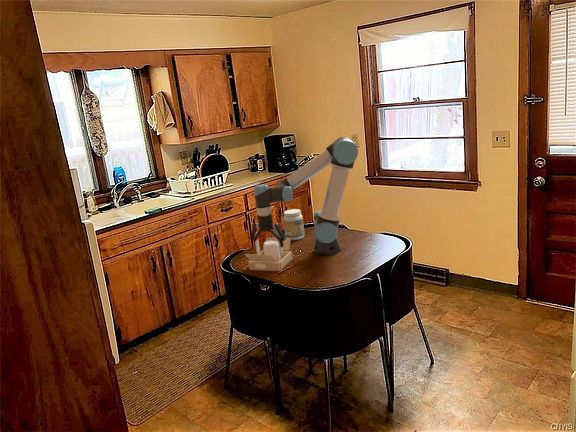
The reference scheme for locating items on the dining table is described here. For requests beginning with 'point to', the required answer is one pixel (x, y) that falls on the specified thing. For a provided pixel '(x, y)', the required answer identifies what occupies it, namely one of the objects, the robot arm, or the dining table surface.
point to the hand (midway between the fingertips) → (269, 252)
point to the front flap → (260, 257)
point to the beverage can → (272, 249)
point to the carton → (271, 266)
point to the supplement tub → (293, 224)
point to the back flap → (285, 242)
